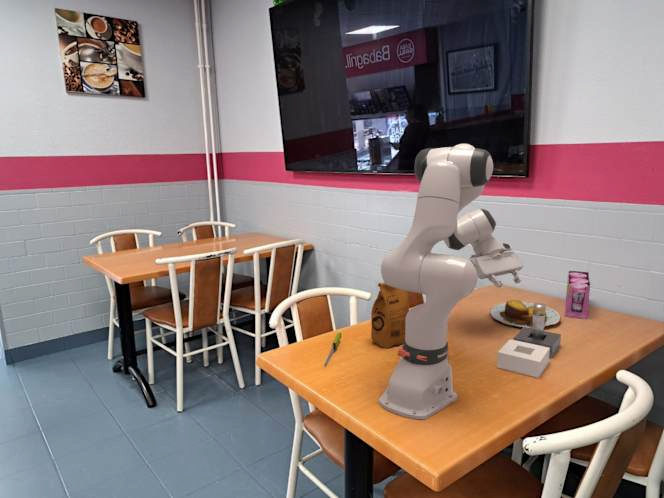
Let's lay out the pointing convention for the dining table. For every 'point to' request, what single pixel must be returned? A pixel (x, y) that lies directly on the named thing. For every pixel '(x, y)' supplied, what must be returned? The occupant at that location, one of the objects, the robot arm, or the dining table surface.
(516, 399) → the dining table surface
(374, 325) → the coffee package
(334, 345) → the kitchen knife
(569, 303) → the gum box
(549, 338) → the socket block
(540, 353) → the rack block
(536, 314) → the shiny cylindrical peg
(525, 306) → the food on plate
